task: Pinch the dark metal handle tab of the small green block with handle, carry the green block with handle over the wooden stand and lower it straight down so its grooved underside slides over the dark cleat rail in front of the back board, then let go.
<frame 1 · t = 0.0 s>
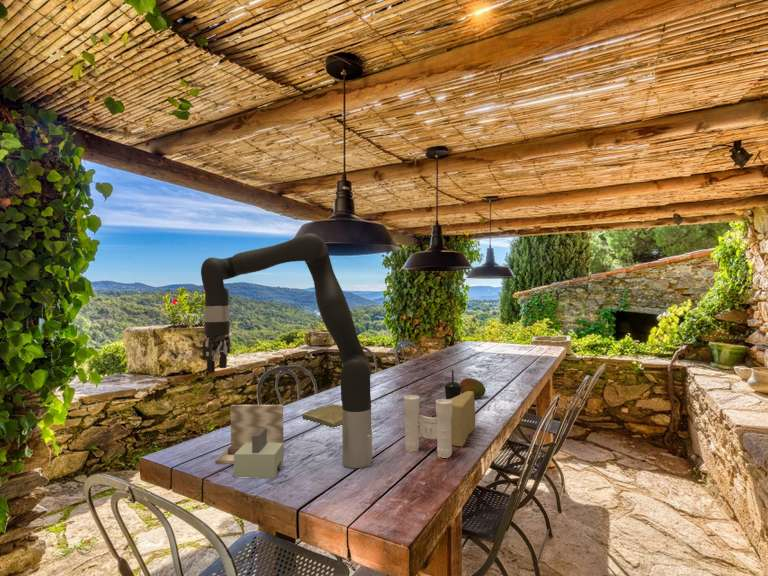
hand: (217, 370, 127), 29 cm above the table, tool pointing down, fingers open, 8 cm apart
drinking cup: (453, 416, 172), on the table
fruit: (472, 398, 202), on the table
decorative tile: (333, 419, 171), on the table
binoculars: (427, 453, 133), on the table
cheese: (462, 436, 148), on the table
wooden stand: (251, 455, 132), on the table
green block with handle: (259, 471, 120), on the table
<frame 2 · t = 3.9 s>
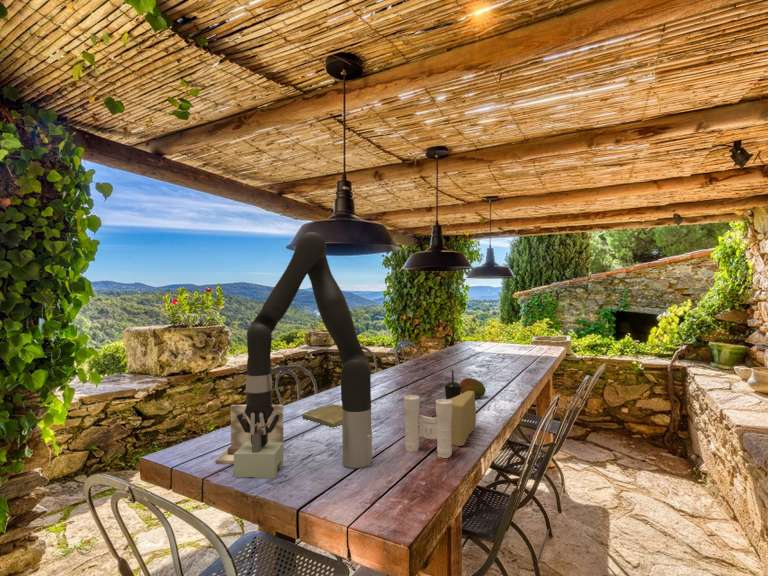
hand: (259, 445, 120), 8 cm above the table, tool pointing down, fingers closed on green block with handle
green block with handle: (259, 471, 120), on the table, touching gripper
everything else where it was.
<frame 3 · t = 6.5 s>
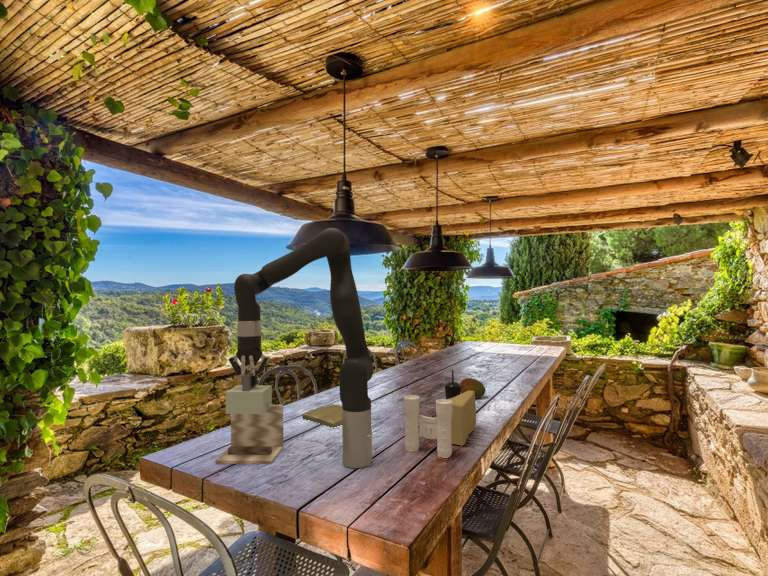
hand: (249, 386, 131), 23 cm above the table, tool pointing down, fingers closed on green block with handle
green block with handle: (249, 409, 131), point 16 cm above the table, touching gripper
everything else where it was.
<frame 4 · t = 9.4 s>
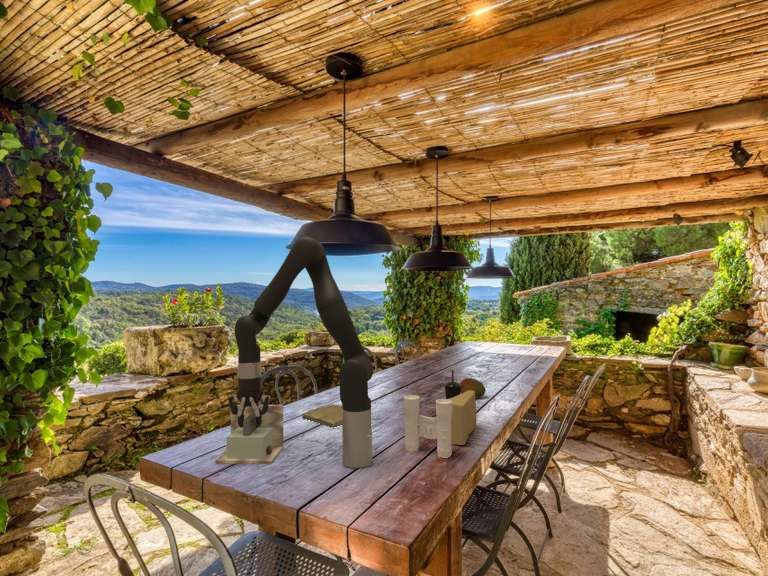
hand: (249, 426, 131), 10 cm above the table, tool pointing down, fingers open, 4 cm apart
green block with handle: (250, 453, 131), point 1 cm above the table, touching wooden stand
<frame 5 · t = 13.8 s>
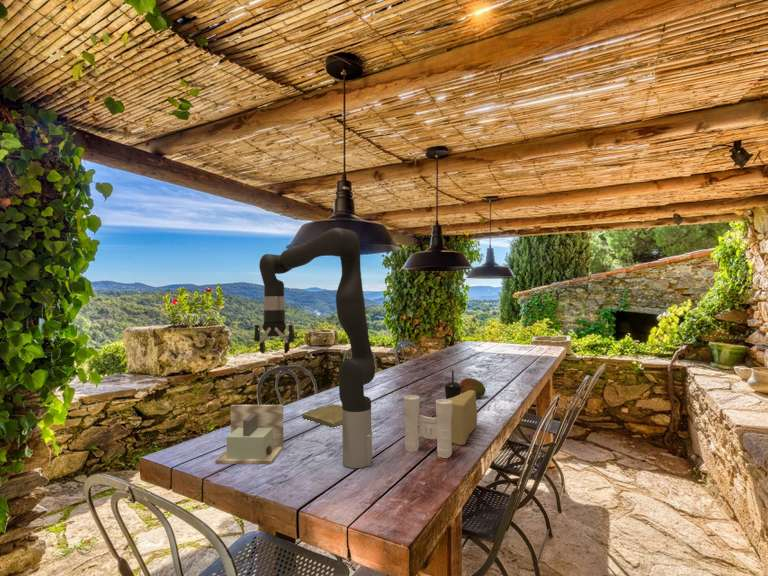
hand: (274, 353, 145), 32 cm above the table, tool pointing down, fingers open, 8 cm apart
at the end: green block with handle 0.2 cm from the target spot, point 1.0 cm above the table; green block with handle tilted 0°; the gripper is holding nothing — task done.
